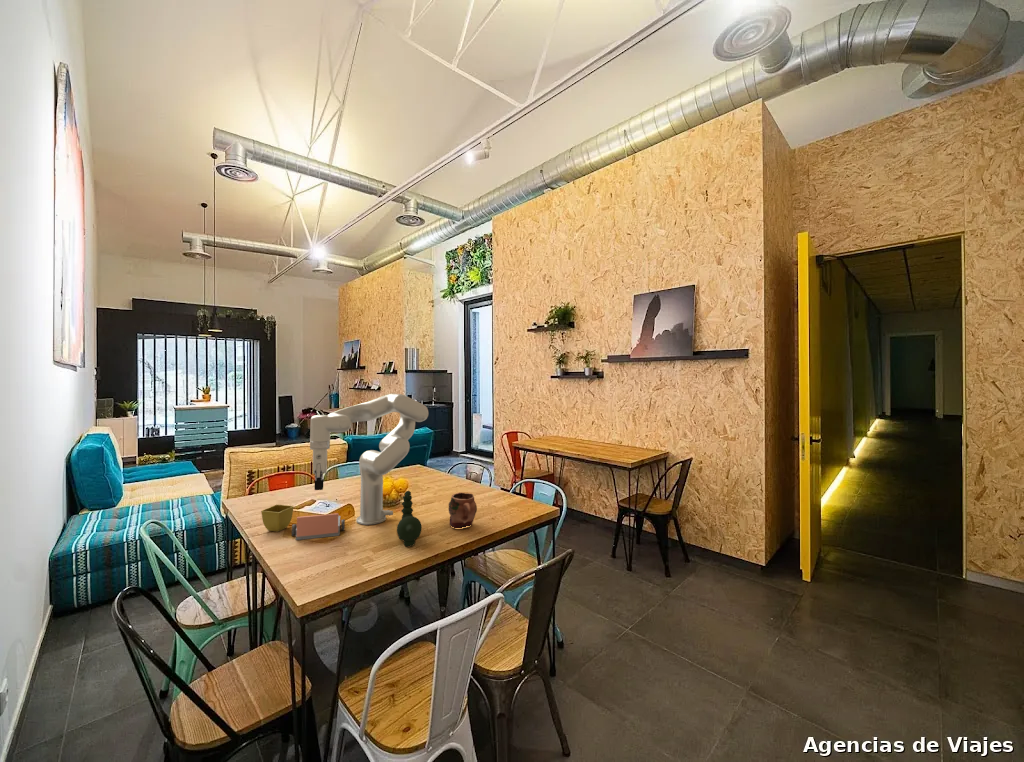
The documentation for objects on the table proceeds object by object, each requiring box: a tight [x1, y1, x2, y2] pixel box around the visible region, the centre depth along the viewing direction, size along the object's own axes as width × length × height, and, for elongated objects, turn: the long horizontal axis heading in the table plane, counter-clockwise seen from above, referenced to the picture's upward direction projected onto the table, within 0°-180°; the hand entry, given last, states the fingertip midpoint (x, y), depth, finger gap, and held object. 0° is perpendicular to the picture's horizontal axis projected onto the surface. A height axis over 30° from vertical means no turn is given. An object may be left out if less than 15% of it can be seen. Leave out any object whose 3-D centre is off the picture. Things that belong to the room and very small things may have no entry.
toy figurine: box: [396, 490, 423, 547], centre depth 169 cm, size 9×19×25 cm
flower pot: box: [260, 504, 294, 532], centre depth 178 cm, size 9×9×9 cm
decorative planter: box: [448, 492, 478, 528], centre depth 185 cm, size 20×12×14 cm, turn 29°
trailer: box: [291, 515, 346, 541], centre depth 177 cm, size 16×20×4 cm
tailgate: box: [295, 512, 340, 539], centre depth 169 cm, size 1×16×8 cm, turn 111°
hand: (318, 489), depth 174 cm, fingers closed
